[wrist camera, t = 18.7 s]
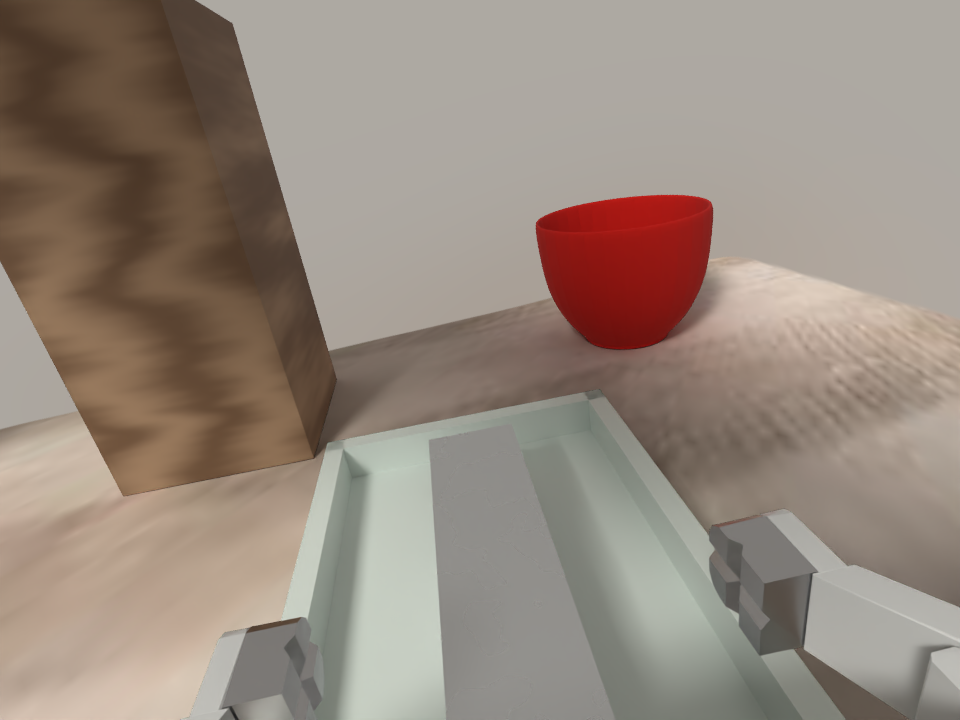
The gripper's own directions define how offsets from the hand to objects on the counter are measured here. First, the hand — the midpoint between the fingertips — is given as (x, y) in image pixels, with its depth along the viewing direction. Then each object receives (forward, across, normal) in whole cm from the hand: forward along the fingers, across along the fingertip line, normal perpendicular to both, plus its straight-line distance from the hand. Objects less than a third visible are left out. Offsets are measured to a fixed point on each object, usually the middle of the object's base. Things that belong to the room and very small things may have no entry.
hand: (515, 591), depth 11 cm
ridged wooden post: (+28, +16, +9) cm, 34 cm away
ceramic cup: (+34, -14, +10) cm, 38 cm away
